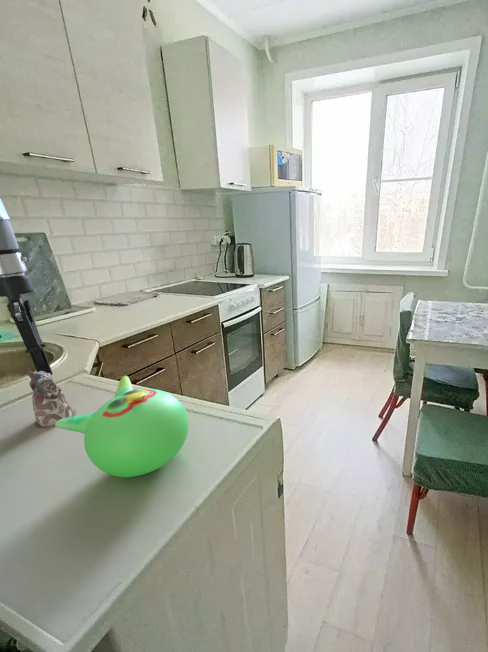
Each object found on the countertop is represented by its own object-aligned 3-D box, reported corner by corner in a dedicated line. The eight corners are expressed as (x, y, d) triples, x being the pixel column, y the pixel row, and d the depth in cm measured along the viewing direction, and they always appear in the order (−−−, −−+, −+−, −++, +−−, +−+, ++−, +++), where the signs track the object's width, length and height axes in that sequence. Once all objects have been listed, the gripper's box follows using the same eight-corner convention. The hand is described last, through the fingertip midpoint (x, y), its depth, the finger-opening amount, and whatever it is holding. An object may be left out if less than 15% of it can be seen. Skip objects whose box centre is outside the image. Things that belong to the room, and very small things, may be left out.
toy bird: (149, 505, 56) (127, 426, 50) (71, 483, 61) (42, 410, 55) (209, 442, 71) (198, 375, 65) (142, 429, 77) (126, 366, 70)
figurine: (53, 428, 79) (34, 379, 73) (30, 424, 81) (10, 376, 76) (79, 412, 85) (63, 366, 80) (57, 409, 87) (40, 364, 82)
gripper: (26, 276, 72) (63, 380, 82) (30, 270, 83) (63, 363, 93) (-20, 281, 69) (25, 388, 79) (-9, 274, 79) (29, 370, 89)
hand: (46, 375), depth 86 cm, fingers closed
